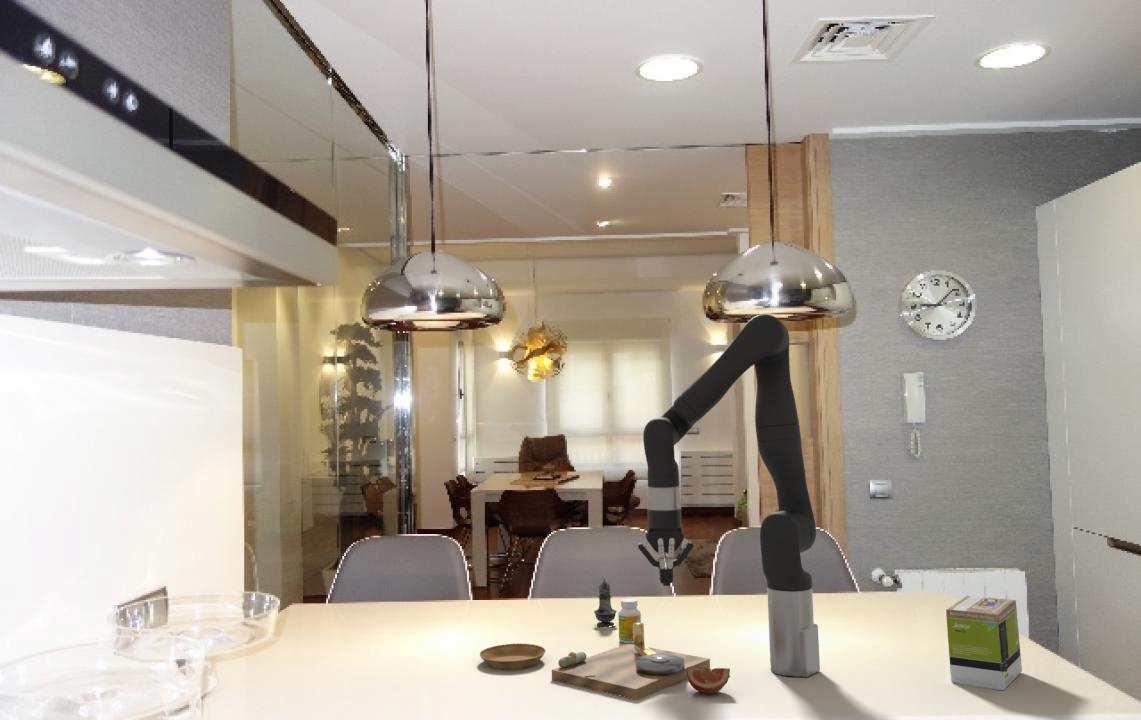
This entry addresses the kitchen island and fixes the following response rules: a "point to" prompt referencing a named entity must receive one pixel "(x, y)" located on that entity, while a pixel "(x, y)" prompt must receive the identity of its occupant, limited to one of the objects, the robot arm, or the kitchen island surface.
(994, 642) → the tea box
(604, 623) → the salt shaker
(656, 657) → the grey and tan lever
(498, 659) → the plant saucer
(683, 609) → the kitchen island surface
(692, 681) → the fruit slice
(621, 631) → the supplement bottle
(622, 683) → the levelling board
